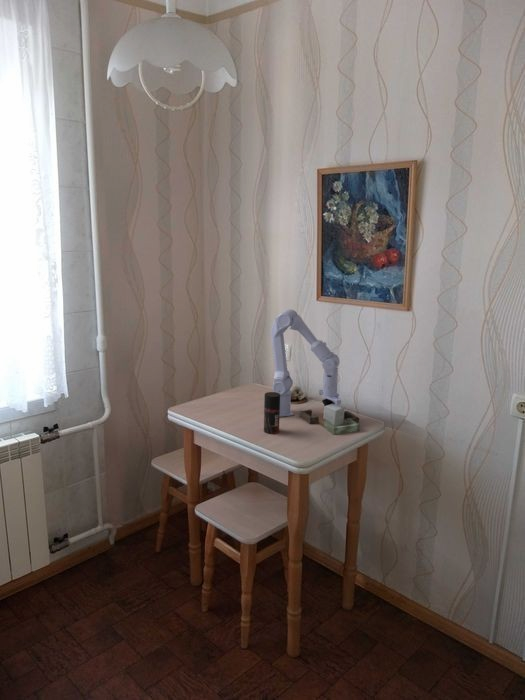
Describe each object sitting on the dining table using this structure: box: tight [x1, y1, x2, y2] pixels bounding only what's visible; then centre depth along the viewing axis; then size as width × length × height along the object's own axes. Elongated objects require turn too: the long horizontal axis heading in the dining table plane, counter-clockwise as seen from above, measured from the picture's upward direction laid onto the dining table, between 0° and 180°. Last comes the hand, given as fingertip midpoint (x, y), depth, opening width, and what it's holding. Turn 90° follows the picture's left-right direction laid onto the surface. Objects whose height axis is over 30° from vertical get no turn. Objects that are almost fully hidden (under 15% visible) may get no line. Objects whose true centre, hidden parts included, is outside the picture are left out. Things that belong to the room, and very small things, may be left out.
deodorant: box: [263, 391, 281, 435], centre depth 208 cm, size 6×6×15 cm
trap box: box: [299, 409, 361, 435], centre depth 220 cm, size 19×22×3 cm
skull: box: [290, 383, 308, 405], centre depth 248 cm, size 12×10×10 cm
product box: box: [322, 403, 346, 427], centre depth 218 cm, size 6×6×7 cm
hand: (328, 416), depth 223 cm, fingers closed, pressing on product box
